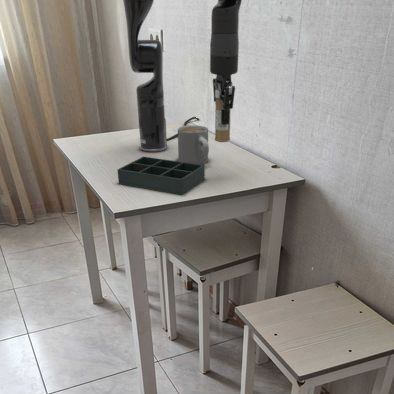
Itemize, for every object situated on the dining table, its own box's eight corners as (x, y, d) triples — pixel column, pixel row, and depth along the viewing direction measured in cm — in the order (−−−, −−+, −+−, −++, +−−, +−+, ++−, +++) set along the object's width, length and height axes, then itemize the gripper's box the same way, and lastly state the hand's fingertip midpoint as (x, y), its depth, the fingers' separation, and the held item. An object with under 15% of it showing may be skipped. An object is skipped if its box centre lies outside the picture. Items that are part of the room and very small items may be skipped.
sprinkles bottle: (232, 139, 142) (234, 88, 133) (226, 143, 138) (228, 91, 130) (217, 137, 143) (218, 87, 135) (212, 141, 140) (212, 90, 132)
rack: (144, 170, 154) (143, 156, 151) (204, 179, 146) (204, 165, 143) (118, 184, 144) (117, 169, 141) (182, 195, 136) (181, 179, 133)
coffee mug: (174, 158, 164) (173, 126, 158) (201, 155, 167) (201, 124, 160) (187, 169, 154) (187, 136, 148) (216, 166, 157) (216, 133, 151)
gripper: (203, 50, 132) (203, 117, 142) (218, 56, 121) (216, 129, 132) (230, 49, 133) (227, 115, 144) (246, 55, 122) (242, 127, 133)
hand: (222, 121), depth 138 cm, fingers closed on sprinkles bottle, 4 cm apart
